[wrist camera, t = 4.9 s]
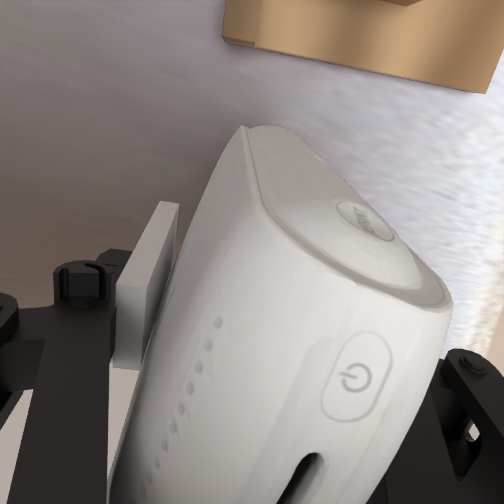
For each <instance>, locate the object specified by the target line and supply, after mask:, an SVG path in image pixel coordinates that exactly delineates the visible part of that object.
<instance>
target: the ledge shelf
mask: <svg viewBox="0 0 504 504" xmlns="http://www.w3.org/2000/svg"><path fill="white" fill-rule="evenodd" d="M222 37H223V39H224V40H225V42H229V43H234V44H239V45H244V46H249V47H253V48H258V49H263V50H268V51H273V52H278V53H282V54H287V55H292V56H297V57H302V58H307V59H312V60H316V61H321V62H326V63H331V64H336V65H341V66H345V67H350V68H355V69H360V70H365V71H370V72H374V73H379V74H384V75H389V76H394V77H399V78H404V79H408V80H413V81H418V82H423V83H428V84H433V85H437V86H442V87H447V88H452V89H457V90H462V91H466V92H472V93H483V94H486V91H487V89H488V86H489V84H490V81H491V79H492V76H493V74H494V71H495V69H496V66H497V64H498V61H499V59H500V56H501V54H502V51H503V49H504V0H226V6H225V13H224V21H223V29H222Z"/></svg>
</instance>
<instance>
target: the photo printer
mask: <svg viewBox="0 0 504 504" xmlns="http://www.w3.org/2000/svg"><path fill="white" fill-rule="evenodd" d="M452 311H453V301H452V298H451V294H450V292H449V290H448V289H447V287H446V285H445V283H444V282H443V281H442V280H441V278H440V277H439V276H438V275H437V274H436V273H435V272H434V271H433V270H432V269H431V268H430V267H429V266H428V265H427V264H426V263H425V262H423V261H422V260H421V259H420V258H419V256H418V255H417V254H416V253H415V252H414V251H413V250H411V249H410V248H409V247H408V246H407V245H406V243H405V242H404V241H403V240H402V239H401V238H400V237H399V235H398V234H397V233H396V232H395V230H394V229H393V228H392V227H391V226H390V225H389V224H388V223H387V222H386V221H385V220H384V219H383V218H382V217H381V216H380V215H379V214H378V213H377V212H376V211H375V210H374V209H373V208H372V207H371V206H370V205H369V204H368V203H367V202H366V201H365V200H364V199H363V198H362V197H361V196H360V195H359V194H358V193H357V192H356V191H355V190H354V189H353V188H352V187H351V186H350V185H349V184H348V183H347V182H346V181H345V180H344V179H343V178H342V177H341V176H340V175H339V174H338V173H337V172H336V171H335V170H334V169H333V168H332V167H330V166H329V165H328V164H327V163H326V162H325V161H324V160H323V159H322V158H321V157H320V156H319V155H318V154H317V153H316V152H315V151H314V150H313V149H312V148H311V147H310V146H309V145H308V144H307V143H306V142H305V141H304V140H303V139H302V138H300V137H299V136H298V135H297V134H295V133H294V132H292V131H290V130H288V129H286V128H283V127H278V126H273V125H263V126H256V127H253V128H248V127H246V126H245V125H241V126H240V127H239V128H238V130H237V131H236V132H235V134H234V135H233V136H232V138H231V139H230V141H229V142H228V144H227V146H226V147H225V149H224V151H223V153H222V154H221V156H220V158H219V160H218V162H217V164H216V167H215V169H214V171H213V173H212V175H211V177H210V180H209V182H208V184H207V187H206V189H205V191H204V193H203V196H202V198H201V200H200V202H199V205H198V207H197V209H196V212H195V214H194V216H193V219H192V221H191V224H190V226H189V228H188V231H187V233H186V236H185V238H184V241H183V243H182V246H181V248H180V251H179V253H178V256H177V259H176V261H175V264H174V267H173V269H172V272H171V275H170V278H169V281H168V283H167V286H166V289H165V292H164V295H163V298H162V301H161V304H160V307H159V310H158V314H157V317H156V320H155V323H154V327H153V330H152V333H151V337H150V340H149V343H148V347H147V350H146V353H145V356H144V360H143V363H142V366H141V370H140V372H139V375H138V379H137V382H136V386H135V389H134V393H133V396H132V399H131V403H130V406H129V410H128V413H127V416H126V419H125V423H124V427H123V430H122V433H121V436H120V440H119V443H118V447H117V450H116V454H115V457H114V460H113V463H112V467H111V470H110V473H109V477H108V480H107V502H106V504H366V502H367V501H368V499H369V498H370V496H371V494H372V493H373V491H374V490H375V488H376V487H377V485H378V483H379V482H380V480H381V479H382V477H383V475H384V474H385V472H386V471H387V469H388V467H389V465H390V464H391V462H392V460H393V458H394V456H395V455H396V453H397V451H398V449H399V447H400V445H401V443H402V441H403V440H404V438H405V436H406V434H407V432H408V430H409V428H410V426H411V424H412V422H413V420H414V418H415V416H416V414H417V412H418V410H419V408H420V406H421V404H422V401H423V399H424V397H425V394H426V392H427V389H428V387H429V384H430V382H431V379H432V377H433V374H434V372H435V369H436V366H437V363H438V360H439V357H440V354H441V352H442V349H443V345H444V342H445V338H446V335H447V331H448V328H449V324H450V320H451V316H452Z"/></svg>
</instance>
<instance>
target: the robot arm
mask: <svg viewBox="0 0 504 504" xmlns="http://www.w3.org/2000/svg"><path fill="white" fill-rule="evenodd" d="M178 210H179V204H178V203H172V202H166V201H160V202H159V204H158V206H157V208H156V209H155V211H154V213H153V215H152V217H151V219H150V221H149V223H148V224H147V226H146V228H145V230H144V232H143V234H142V236H141V238H140V239H139V241H138V243H137V245H136V247H135V249H134V251H133V252H132V251H125V250H118V249H109V250H107V251H105V252H104V253H102V254H100V255H99V256H98V258H97V259H96V261H87V260H81V261H72V262H68V263H64V264H62V265H61V266H59V267H57V268H56V270H55V271H54V272H53V280H54V305H52V306H48V307H40V308H27V309H18V303H17V300H16V299H15V298H14V297H12V296H11V295H8V294H4V293H0V430H1V428H2V427H3V425H4V424H5V422H6V420H7V419H8V417H9V415H10V414H11V412H12V411H13V409H14V407H15V405H16V404H17V402H18V401H19V399H20V397H21V396H22V394H23V391H24V390H30V389H34V390H33V394H32V398H31V403H30V407H29V411H28V415H27V419H26V423H25V428H24V432H23V436H22V440H21V445H20V449H19V453H18V457H17V462H16V466H15V470H14V474H13V478H12V483H11V487H10V491H9V495H8V500H7V504H106V502H107V455H108V454H107V453H108V405H109V363H110V361H111V358H112V356H113V368H123V369H131V370H141V366H142V363H143V360H144V356H145V353H146V350H147V347H148V343H149V340H150V337H151V333H152V330H153V327H154V323H155V320H156V317H157V314H158V310H159V307H160V304H161V300H162V297H163V294H164V290H165V287H166V284H167V281H168V277H169V274H170V271H171V267H172V264H173V257H174V247H175V238H176V229H177V219H178ZM473 423H474V424H475V426H476V427H477V429H478V430H479V433H480V434H479V436H478V438H477V439H476V440H474V439H473V438H472V437H471V435H470V433H469V430H470V428H471V426H472V425H473ZM366 504H504V377H503V376H502V375H501V373H500V372H499V371H498V370H497V369H496V367H494V366H493V365H492V364H491V363H490V362H489V361H488V360H486V359H485V358H483V357H482V356H481V355H479V354H477V353H474V352H472V351H469V350H464V349H451V350H449V351H448V353H447V355H446V357H445V359H444V360H443V359H440V358H439V360H438V363H437V366H436V369H435V372H434V374H433V377H432V379H431V382H430V384H429V387H428V389H427V392H426V394H425V397H424V399H423V401H422V404H421V406H420V408H419V410H418V412H417V414H416V416H415V418H414V420H413V422H412V424H411V426H410V428H409V430H408V432H407V434H406V436H405V438H404V440H403V441H402V443H401V445H400V447H399V449H398V451H397V453H396V455H395V456H394V458H393V460H392V462H391V464H390V465H389V467H388V469H387V471H386V472H385V474H384V475H383V477H382V479H381V480H380V482H379V483H378V485H377V487H376V488H375V490H374V491H373V493H372V494H371V496H370V498H369V499H368V501H367V502H366Z"/></svg>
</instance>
